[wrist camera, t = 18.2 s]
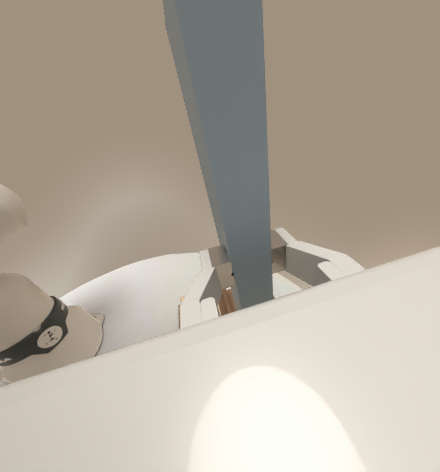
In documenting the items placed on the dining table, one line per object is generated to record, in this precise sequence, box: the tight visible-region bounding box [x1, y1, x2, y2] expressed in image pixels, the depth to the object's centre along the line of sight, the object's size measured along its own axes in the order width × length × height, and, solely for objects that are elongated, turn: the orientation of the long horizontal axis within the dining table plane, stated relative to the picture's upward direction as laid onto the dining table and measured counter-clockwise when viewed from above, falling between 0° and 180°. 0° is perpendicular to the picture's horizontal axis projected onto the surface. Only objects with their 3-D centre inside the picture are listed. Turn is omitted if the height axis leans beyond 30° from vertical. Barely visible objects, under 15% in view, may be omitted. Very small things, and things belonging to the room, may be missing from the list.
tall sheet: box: [163, 0, 273, 311], centre depth 11 cm, size 2×5×22 cm, turn 13°
